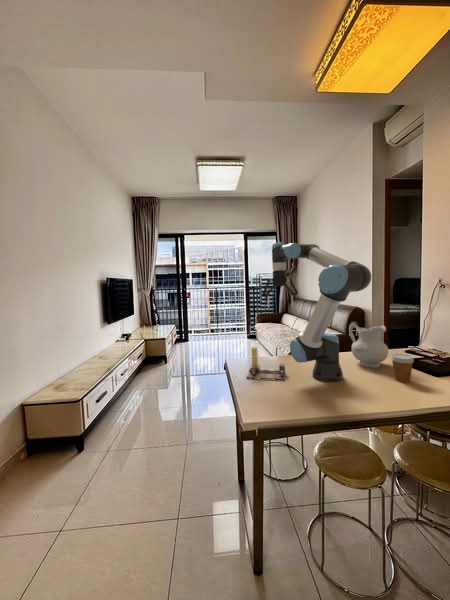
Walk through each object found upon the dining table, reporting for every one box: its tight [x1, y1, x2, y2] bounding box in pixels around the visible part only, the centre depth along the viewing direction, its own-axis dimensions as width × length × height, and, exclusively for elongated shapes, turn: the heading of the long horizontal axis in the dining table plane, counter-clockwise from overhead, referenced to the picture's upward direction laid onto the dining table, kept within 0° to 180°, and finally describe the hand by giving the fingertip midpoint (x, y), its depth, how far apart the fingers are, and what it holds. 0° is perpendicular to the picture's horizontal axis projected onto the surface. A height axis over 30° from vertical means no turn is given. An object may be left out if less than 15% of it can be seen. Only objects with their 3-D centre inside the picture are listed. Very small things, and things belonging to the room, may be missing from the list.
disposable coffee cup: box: [390, 353, 415, 383], centre depth 132 cm, size 10×10×12 cm
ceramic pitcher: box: [348, 321, 389, 369], centre depth 158 cm, size 22×20×25 cm
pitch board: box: [246, 363, 286, 381], centre depth 147 cm, size 20×12×6 cm, turn 75°
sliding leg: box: [249, 346, 261, 375], centre depth 149 cm, size 5×9×14 cm, turn 165°
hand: (280, 306), depth 155 cm, fingers open, 13 cm apart
